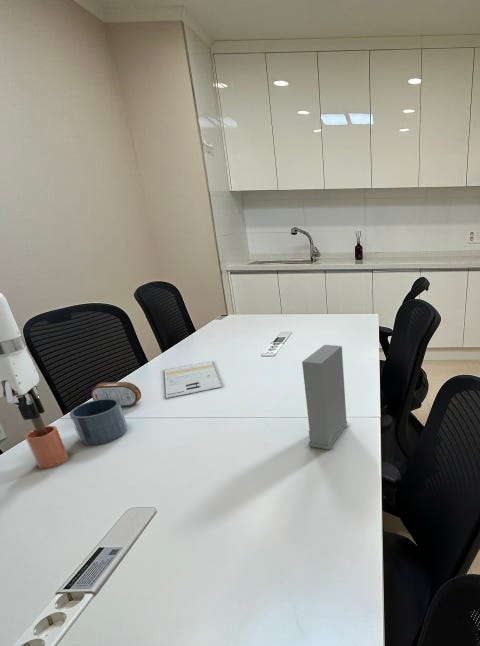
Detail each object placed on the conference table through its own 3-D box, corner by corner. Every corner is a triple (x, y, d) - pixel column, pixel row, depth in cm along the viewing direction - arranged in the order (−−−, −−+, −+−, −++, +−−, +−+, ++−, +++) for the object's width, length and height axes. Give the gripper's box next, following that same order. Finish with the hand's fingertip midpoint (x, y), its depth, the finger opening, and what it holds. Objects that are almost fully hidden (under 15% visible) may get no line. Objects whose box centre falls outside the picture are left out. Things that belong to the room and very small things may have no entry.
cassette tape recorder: (328, 422, 118) (321, 344, 108) (347, 425, 116) (342, 345, 106) (308, 446, 106) (298, 361, 96) (328, 450, 104) (321, 363, 94)
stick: (44, 453, 100) (19, 398, 94) (47, 449, 102) (23, 394, 96) (53, 451, 101) (28, 397, 94) (56, 447, 103) (32, 393, 96)
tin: (144, 402, 134) (137, 380, 130) (140, 406, 131) (133, 384, 127) (99, 404, 133) (91, 382, 130) (94, 409, 130) (86, 386, 127)
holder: (33, 470, 99) (19, 440, 95) (45, 456, 105) (32, 428, 101) (62, 465, 101) (50, 436, 97) (72, 452, 106) (60, 424, 103)
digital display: (211, 361, 168) (221, 386, 144) (211, 362, 168) (221, 386, 144) (164, 369, 161) (166, 397, 136) (164, 370, 161) (166, 398, 136)
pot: (73, 449, 108) (62, 420, 104) (88, 428, 118) (78, 401, 115) (122, 441, 111) (112, 413, 107) (132, 421, 122) (124, 395, 118)
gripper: (2, 338, 96) (32, 404, 103) (-38, 360, 82) (-1, 434, 89) (38, 335, 98) (64, 400, 105) (4, 355, 84) (37, 428, 91)
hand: (34, 415), depth 97 cm, fingers closed on stick, 2 cm apart
